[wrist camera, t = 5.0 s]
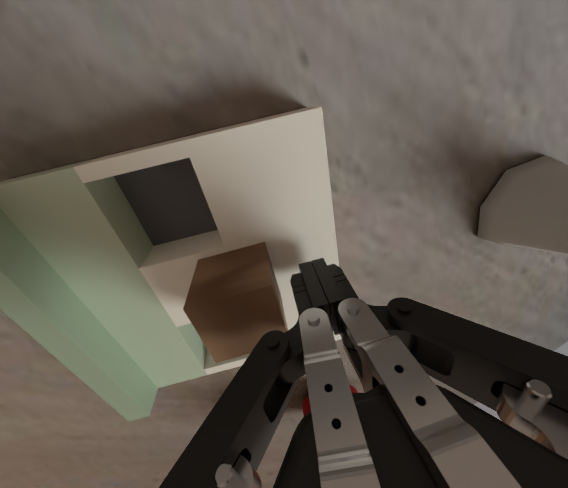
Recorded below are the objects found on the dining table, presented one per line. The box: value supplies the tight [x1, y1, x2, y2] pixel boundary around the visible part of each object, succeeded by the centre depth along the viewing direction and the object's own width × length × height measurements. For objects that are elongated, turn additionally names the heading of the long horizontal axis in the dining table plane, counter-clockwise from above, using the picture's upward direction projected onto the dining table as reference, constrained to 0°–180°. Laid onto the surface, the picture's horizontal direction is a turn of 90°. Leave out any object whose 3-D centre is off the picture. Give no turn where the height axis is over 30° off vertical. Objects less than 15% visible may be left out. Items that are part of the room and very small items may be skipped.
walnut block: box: [183, 242, 288, 363], centre depth 13 cm, size 4×4×4 cm
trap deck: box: [0, 107, 342, 421], centre depth 15 cm, size 17×16×5 cm
